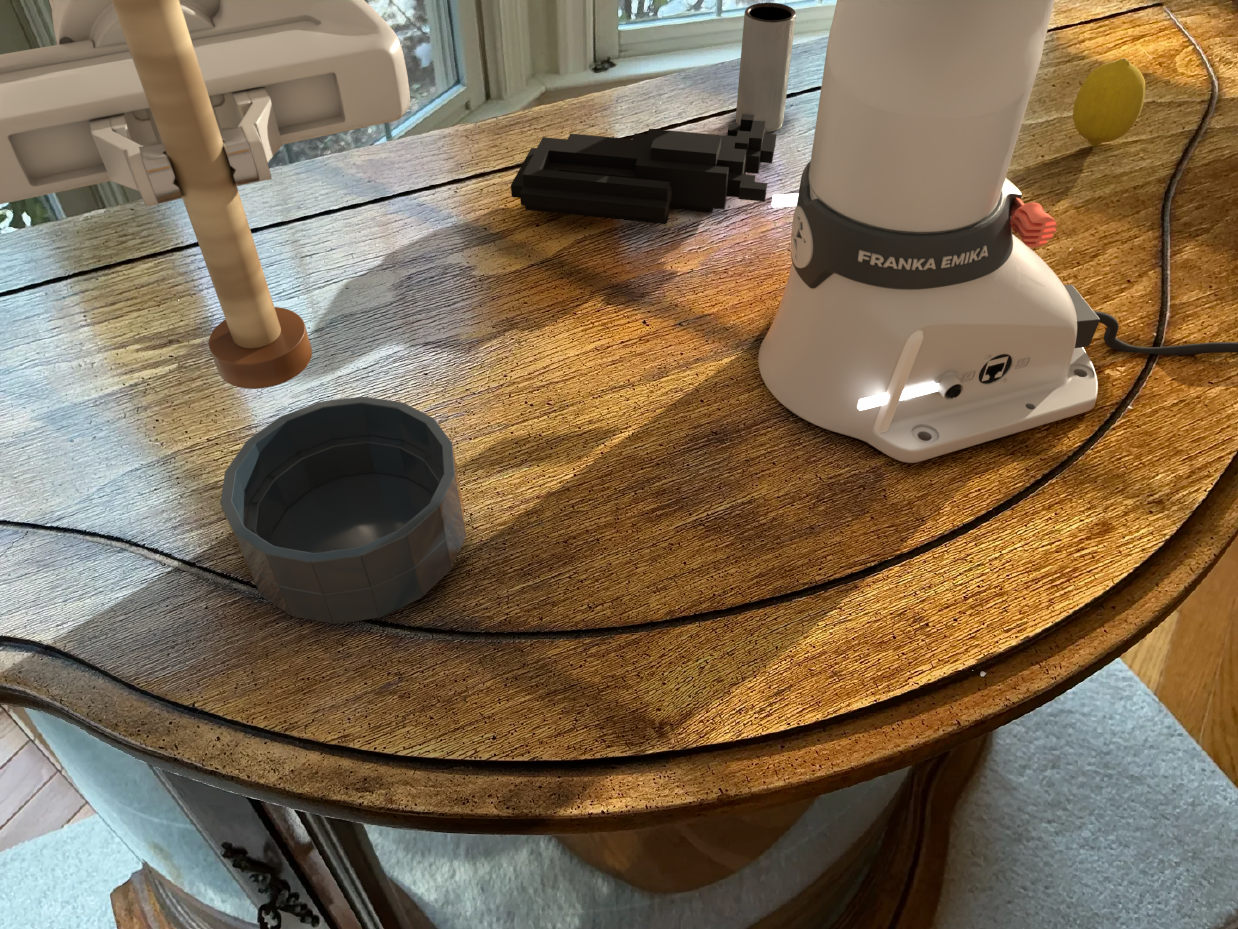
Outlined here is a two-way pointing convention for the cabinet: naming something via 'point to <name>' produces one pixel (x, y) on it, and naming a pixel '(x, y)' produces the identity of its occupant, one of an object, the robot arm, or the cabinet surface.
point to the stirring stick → (212, 201)
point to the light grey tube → (765, 63)
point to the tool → (645, 172)
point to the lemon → (1109, 102)
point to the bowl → (346, 508)
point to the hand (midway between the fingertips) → (205, 176)
